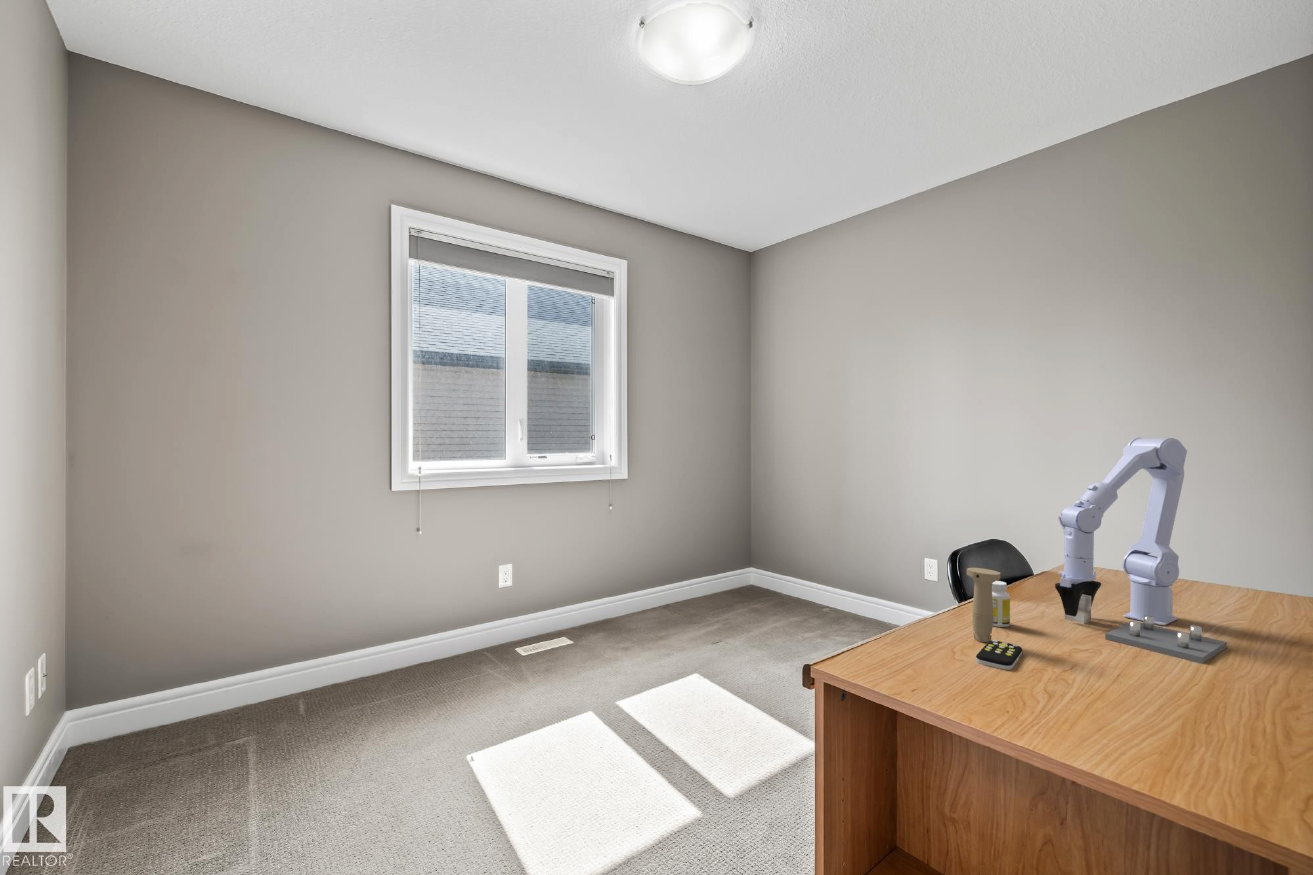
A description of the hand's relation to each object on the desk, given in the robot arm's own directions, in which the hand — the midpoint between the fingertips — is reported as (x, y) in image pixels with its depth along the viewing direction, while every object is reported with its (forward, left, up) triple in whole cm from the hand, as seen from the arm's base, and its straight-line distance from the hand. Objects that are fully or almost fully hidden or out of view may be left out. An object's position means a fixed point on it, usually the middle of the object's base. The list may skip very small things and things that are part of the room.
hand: (1077, 612), depth 141 cm
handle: (+34, -5, -2) cm, 34 cm away
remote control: (+41, +2, -2) cm, 41 cm away
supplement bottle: (+20, -9, -2) cm, 22 cm away
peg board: (+2, +17, -2) cm, 17 cm away
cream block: (0, 0, -2) cm, 2 cm away
